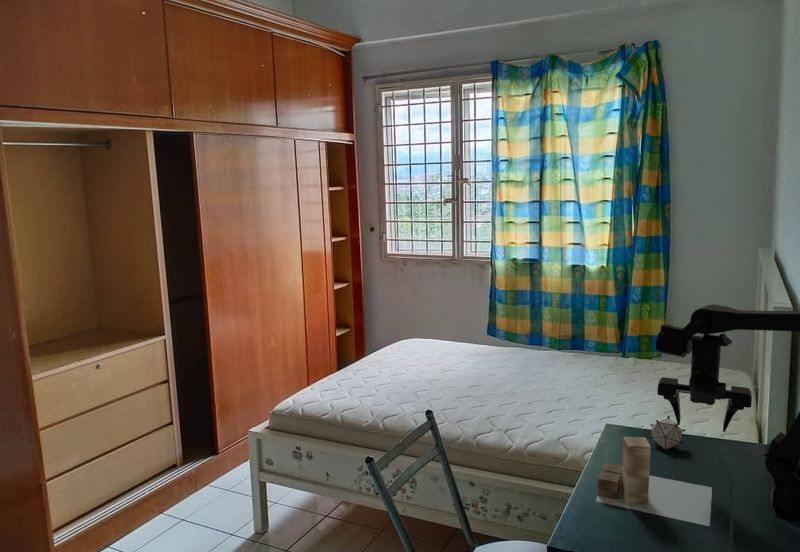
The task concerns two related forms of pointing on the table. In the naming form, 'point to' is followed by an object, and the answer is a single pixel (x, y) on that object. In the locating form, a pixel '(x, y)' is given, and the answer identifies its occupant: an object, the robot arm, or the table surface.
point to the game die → (666, 433)
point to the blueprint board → (672, 500)
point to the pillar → (635, 470)
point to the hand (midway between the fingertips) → (701, 427)
